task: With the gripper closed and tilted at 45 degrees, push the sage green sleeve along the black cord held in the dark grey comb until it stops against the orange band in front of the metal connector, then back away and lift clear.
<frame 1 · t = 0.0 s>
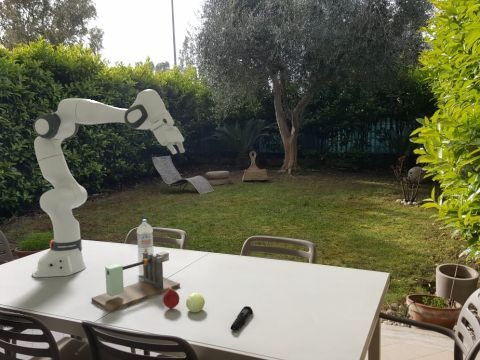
hand: (179, 152, 168), 54 cm above the table, tool tilted 30°, fingers open, 8 cm apart
sleeve: (114, 279, 148), point 9 cm above the table, slide at 0.0 cm
tennis ball: (195, 311, 141), on the table
onion: (171, 309, 143), on the table
water bottle: (146, 274, 178), on the table
cord rig: (129, 296, 154), on the table
electric trimmer: (242, 322, 133), on the table
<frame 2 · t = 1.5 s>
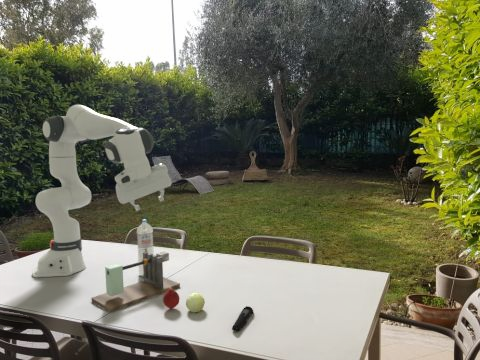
hand: (150, 205, 149), 36 cm above the table, tool tilted 20°, fingers open, 8 cm apart
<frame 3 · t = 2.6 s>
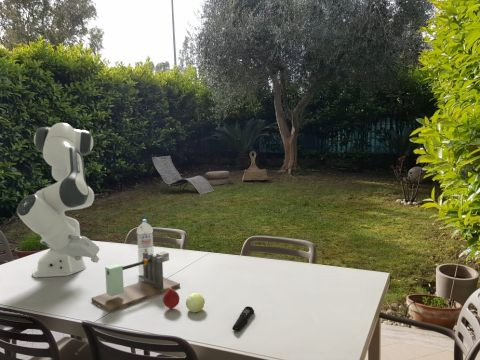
hand: (88, 259, 138), 20 cm above the table, tool tilted 40°, fingers open, 8 cm apart
nothing on the table moved.
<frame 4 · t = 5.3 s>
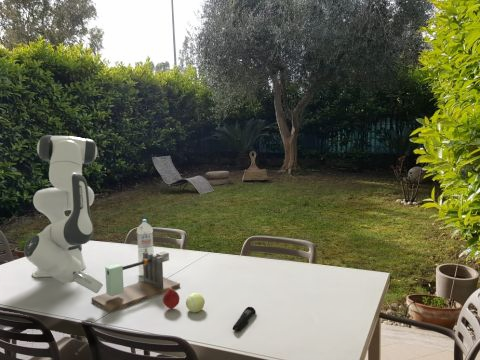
hand: (96, 288, 143), 7 cm above the table, tool tilted 45°, fingers closed
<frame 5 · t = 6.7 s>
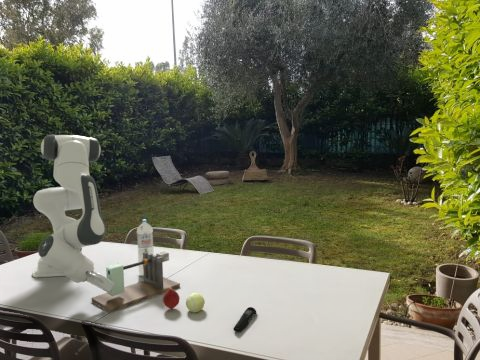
hand: (107, 287, 147), 6 cm above the table, tool tilted 45°, fingers closed, pressing on sleeve
sleeve: (115, 279, 149), point 9 cm above the table, slide at 0.3 cm, touching gripper
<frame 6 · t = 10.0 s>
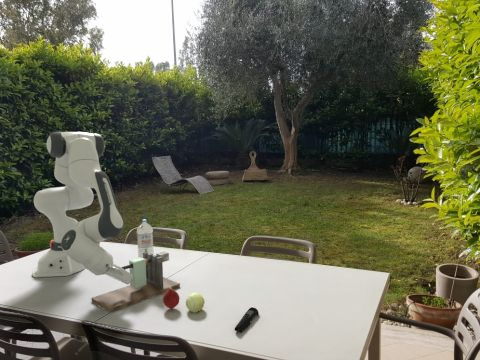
hand: (125, 280, 152), 7 cm above the table, tool tilted 45°, fingers closed
sleeve: (137, 272, 156), point 9 cm above the table, slide at 10.0 cm
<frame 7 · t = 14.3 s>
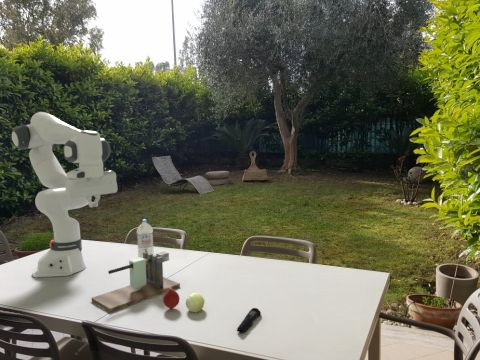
hand: (93, 206, 158), 34 cm above the table, tool pointing down, fingers closed
at the end: sleeve slide at 10.0 cm; the gripper is holding nothing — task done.
